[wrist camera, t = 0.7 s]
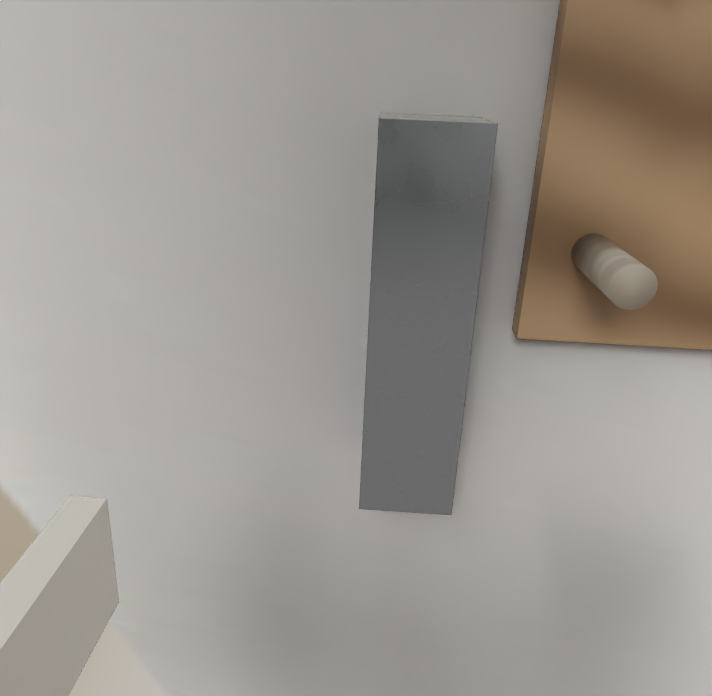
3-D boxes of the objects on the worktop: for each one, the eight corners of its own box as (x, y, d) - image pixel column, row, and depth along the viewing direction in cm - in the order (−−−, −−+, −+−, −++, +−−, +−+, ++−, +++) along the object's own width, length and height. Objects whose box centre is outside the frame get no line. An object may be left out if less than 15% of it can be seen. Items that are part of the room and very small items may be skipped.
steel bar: (381, 112, 26) (378, 118, 21) (478, 117, 26) (497, 123, 21) (363, 448, 32) (359, 508, 28) (442, 452, 32) (451, 515, 27)
